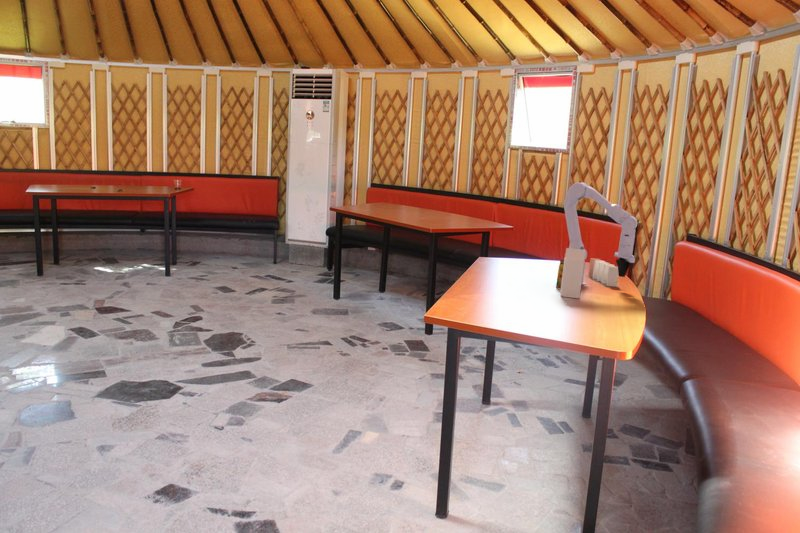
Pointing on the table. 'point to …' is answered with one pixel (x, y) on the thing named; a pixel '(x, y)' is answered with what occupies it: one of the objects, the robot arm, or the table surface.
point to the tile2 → (605, 273)
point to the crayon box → (560, 274)
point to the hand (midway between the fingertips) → (621, 276)
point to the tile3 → (601, 270)
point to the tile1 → (612, 276)
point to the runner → (600, 282)
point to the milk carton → (572, 273)
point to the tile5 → (592, 267)
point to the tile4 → (596, 268)
